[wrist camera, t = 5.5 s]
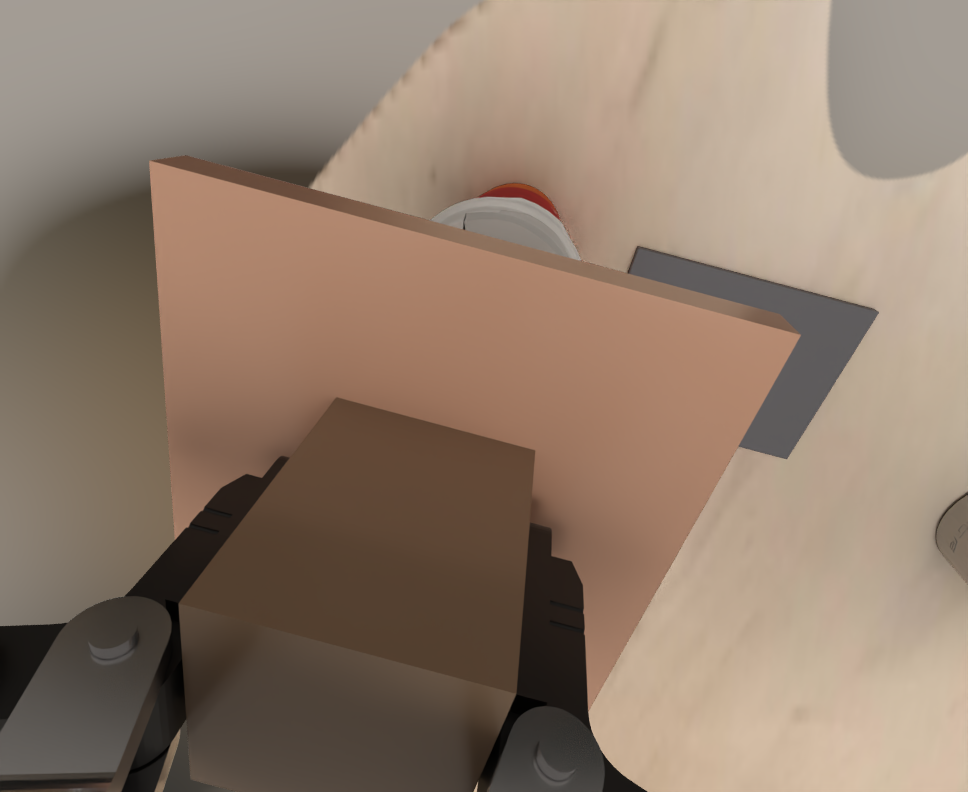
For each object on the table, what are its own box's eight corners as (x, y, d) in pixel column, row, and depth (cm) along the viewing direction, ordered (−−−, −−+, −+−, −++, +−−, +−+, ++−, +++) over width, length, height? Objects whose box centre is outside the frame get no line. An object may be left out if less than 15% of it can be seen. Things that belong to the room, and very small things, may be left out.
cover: (779, 313, 10) (1029, 558, 5) (585, 678, 15) (597, 984, 10) (186, 155, 10) (-247, 218, 5) (201, 575, 15) (10, 827, 10)
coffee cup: (529, 313, 39) (513, 422, 26) (430, 246, 37) (360, 324, 24) (605, 212, 35) (632, 278, 22) (499, 133, 34) (459, 153, 20)
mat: (874, 309, 36) (879, 312, 35) (784, 454, 42) (786, 459, 41) (637, 246, 36) (638, 248, 35) (580, 400, 42) (580, 404, 41)
